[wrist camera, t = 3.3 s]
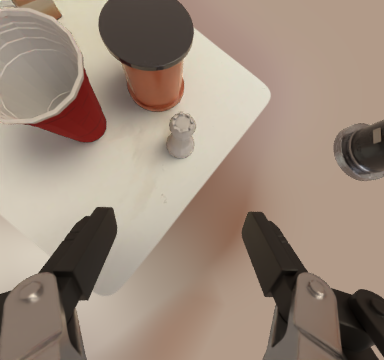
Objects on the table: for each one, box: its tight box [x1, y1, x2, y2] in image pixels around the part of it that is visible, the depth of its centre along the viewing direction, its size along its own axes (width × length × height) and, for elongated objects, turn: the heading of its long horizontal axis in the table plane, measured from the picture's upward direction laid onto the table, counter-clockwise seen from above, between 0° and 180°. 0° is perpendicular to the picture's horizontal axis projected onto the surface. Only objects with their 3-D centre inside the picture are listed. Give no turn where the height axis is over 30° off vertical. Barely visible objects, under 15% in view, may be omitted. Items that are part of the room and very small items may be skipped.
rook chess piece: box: [167, 112, 196, 158], centre depth 23 cm, size 4×4×8 cm
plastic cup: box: [0, 7, 106, 142], centre depth 20 cm, size 11×11×12 cm
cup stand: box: [99, 0, 194, 112], centre depth 23 cm, size 11×11×10 cm
